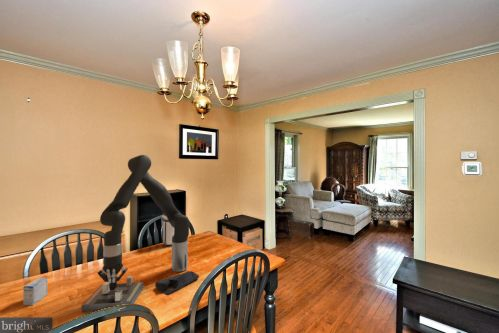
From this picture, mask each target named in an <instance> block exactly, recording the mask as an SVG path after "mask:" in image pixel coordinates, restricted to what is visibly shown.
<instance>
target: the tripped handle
mask: <svg viewBox="0 0 499 333" xmlns="http://www.w3.org/2000/svg"><path fill="white" fill-rule="evenodd" d="M108 292H109V282H104V283H103V286H102V294H107V293H108Z"/></svg>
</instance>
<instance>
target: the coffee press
mask: <svg viewBox="0 0 499 333" xmlns="http://www.w3.org/2000/svg"><path fill="white" fill-rule="evenodd" d="M160 218H162V221H163V230H162V232H163V234H162V235H163V245H162V246H163V248H165V247H167V246H169V245H171V246H172V236H174V228H173V227H172V226H171V224H170V222H169V220H168V218H167V217H166V215H165V213H164V212H163V213H162V215H161V217H160Z"/></svg>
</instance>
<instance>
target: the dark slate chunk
mask: <svg viewBox="0 0 499 333" xmlns="http://www.w3.org/2000/svg"><path fill="white" fill-rule="evenodd" d="M199 278H200V276H199V274H198V273H196V272H194V271H192V270H186V271H185V272H183V273H180V274H177V275H172V276H168V277H165V278H161V280H160V279H159V280H158V281H156V282H155V285H154V287H156V289H157V291H159V292H160V293H162V294H165V295H171V293H174V292H175V293H176V292H177V291H179V290H181V289H182V288H184V287H186V286H188V285H189V284H192V283H194V282H195V281H196V280H197V279H199ZM170 287H171V288H172V289H171V288H170Z"/></svg>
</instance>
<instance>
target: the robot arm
mask: <svg viewBox="0 0 499 333" xmlns="http://www.w3.org/2000/svg"><path fill="white" fill-rule="evenodd" d="M127 167H128V170H129V171H130V172H131V174H130V175H129V176H128V178H126V180H124V182H123V183H122V185H121V186H120V188H119V189H118V190H117V192H116V194H115V196H114V198H113V200H112V201H111V202H110V203H109V204H108V205H107V206H106V208H105V209H104V210H103V211H102V213H101V215H100V217H99V222H100V224H101V225H103V226H106V227H108V226H109V227H111V229H110V230H108V231H106V232H104V234H103V235H104V236H103V250H102V251H103V252H102V253H103V266H102V268H101V269H99V271H97V275H98V276H99V277H100V278H101V279H102V281H104V283H109V289H110V291H112V290H115V289H116V287H117V284H118V282H120V281H121V279H122V278H123V276H125V274H126V273H127V271H128V268H127V267H124V265H123V246H122V245H123V244H122V233H123V230H124V226H125V222H126V215H125V213H124V212H123V211H120V210H123V209H126V208H127V207H128V206H129V204H130V202H131V200H132V198H133V196H134V194H135V192H136V190H137V188H138V186H139V185H140V184H141V185H142V186H143V188H144V189H145V190H146V192H147V193H148V195H149V196H150V197H151V199H152V200H153V201H154V203H155V204H156V205H157V206H158V208H159V209H160V211H161V212H163V213H165V215H166V217H167V218H168V220H169V222H170V224H171V226H172V227H173V228H174V236H172V244H171V271H172V272H176V273H179V272H184V271H188V270H187V269H188V266H189V259H188V258H189V251H188V242H189V241H188V240H189V239H188V238H189V236H190V219H189V217H187V215H184V214H182V213H181V212H180V211H179V210H178V208H177V207H176V206H175V204H174V201H173V198H172V196H171V193H170V192H169V191H168V189H167V188H166V186H165V185H163V184H162V183H161V182H160V181H159V180H157V179H155V178H154V177H153V176H152V175H151V174H150V173H149V170H150V169H151V167H152V160H151V158H150V157H149V156H148V155H147V154H146V155H145V154H139V155H136V156H134V157H131V158H130V159H128V161H127ZM119 272H120V274H119Z"/></svg>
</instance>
